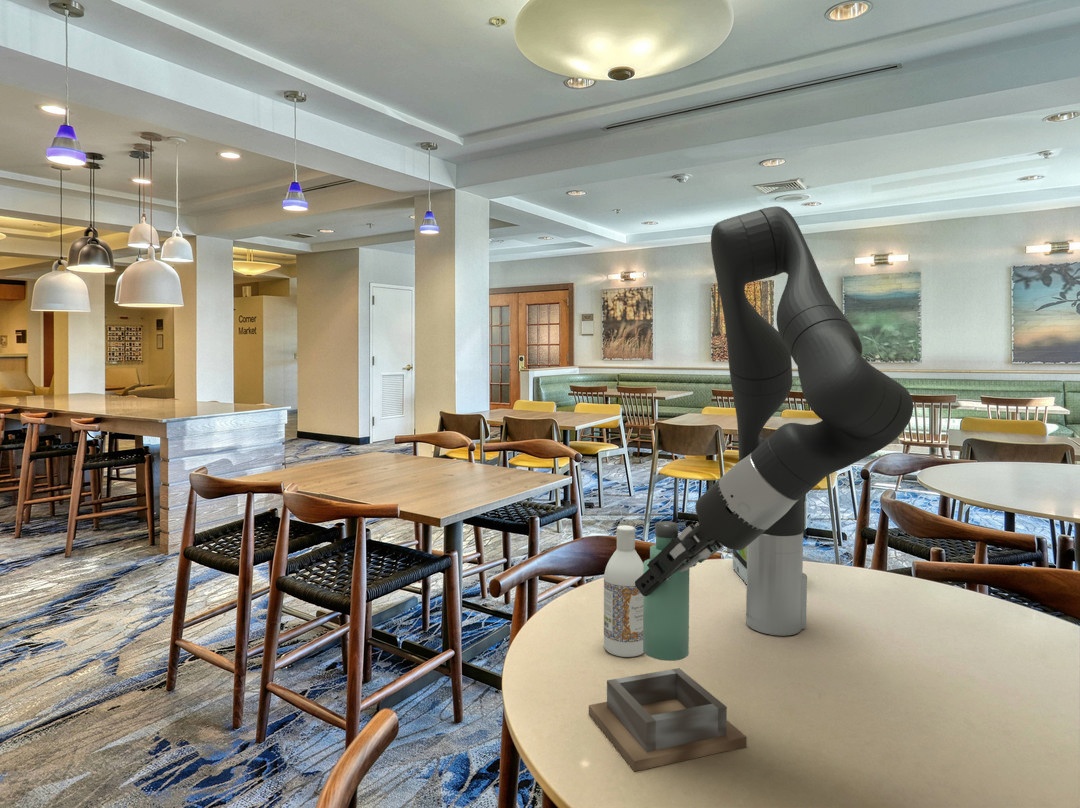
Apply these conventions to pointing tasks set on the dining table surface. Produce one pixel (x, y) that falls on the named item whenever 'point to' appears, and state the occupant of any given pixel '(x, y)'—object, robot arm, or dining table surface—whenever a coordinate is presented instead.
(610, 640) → the bath foam
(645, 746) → the bottle stand
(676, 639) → the green bottle
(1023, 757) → the dining table surface
